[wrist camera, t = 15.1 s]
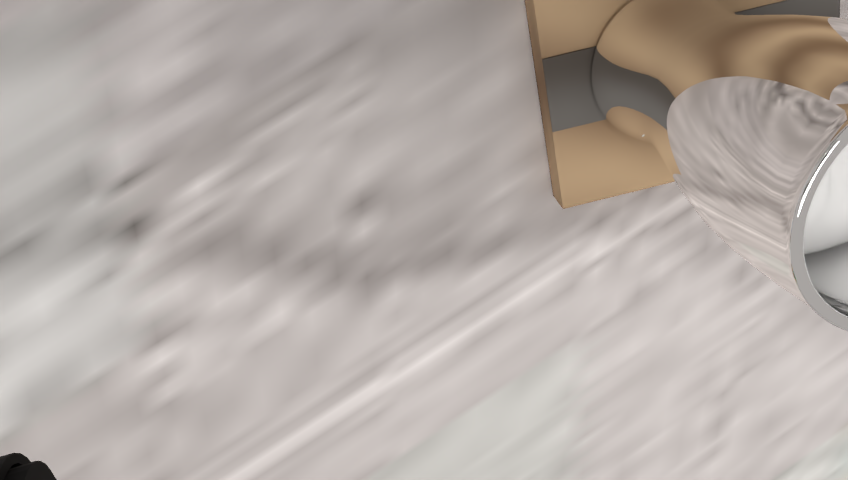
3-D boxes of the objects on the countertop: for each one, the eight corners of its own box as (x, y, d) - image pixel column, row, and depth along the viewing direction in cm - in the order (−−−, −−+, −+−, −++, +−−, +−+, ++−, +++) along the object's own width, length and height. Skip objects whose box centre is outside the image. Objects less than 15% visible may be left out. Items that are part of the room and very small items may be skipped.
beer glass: (589, -29, 29) (824, 58, 16) (765, -26, 30) (1128, 59, 17) (569, 150, 32) (753, 352, 19) (730, 148, 33) (1015, 339, 20)
